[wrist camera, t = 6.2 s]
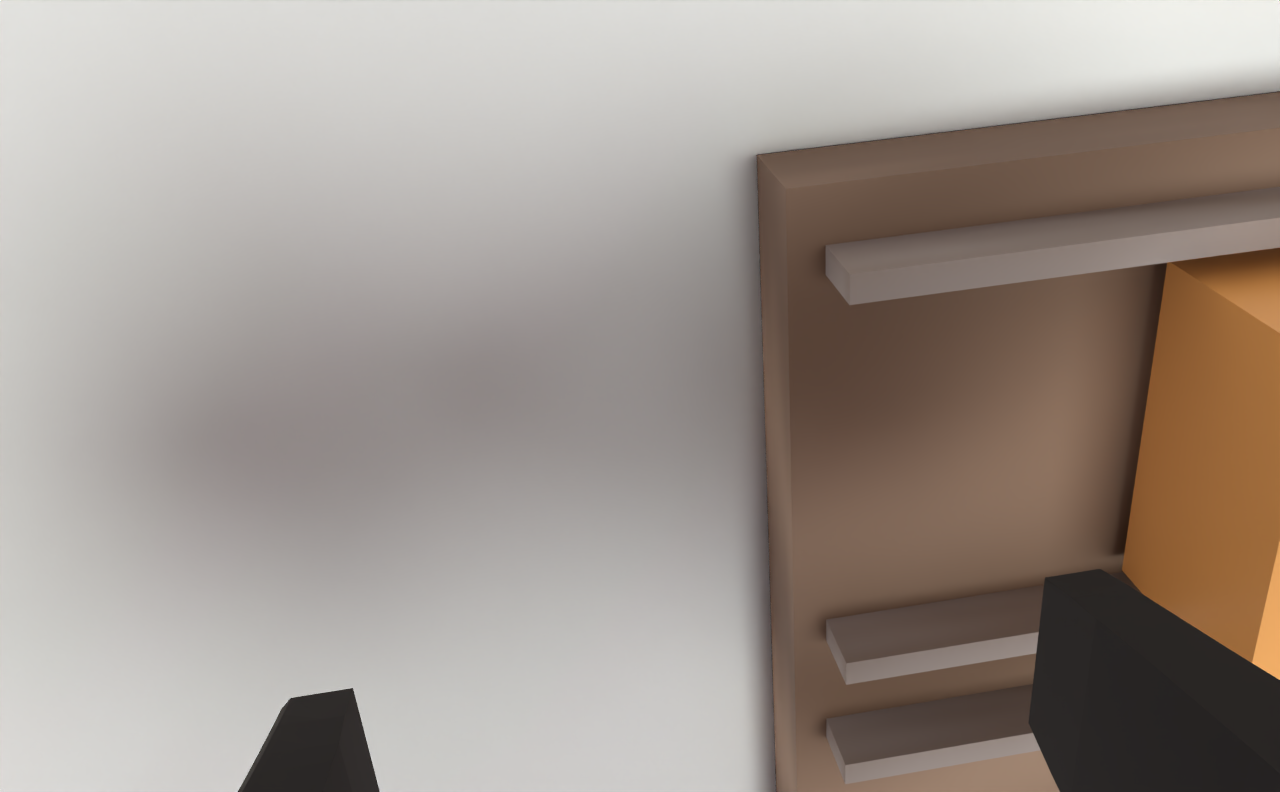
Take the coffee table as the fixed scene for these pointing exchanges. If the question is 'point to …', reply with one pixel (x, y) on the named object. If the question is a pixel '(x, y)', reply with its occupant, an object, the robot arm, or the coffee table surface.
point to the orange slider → (1214, 455)
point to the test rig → (967, 412)
